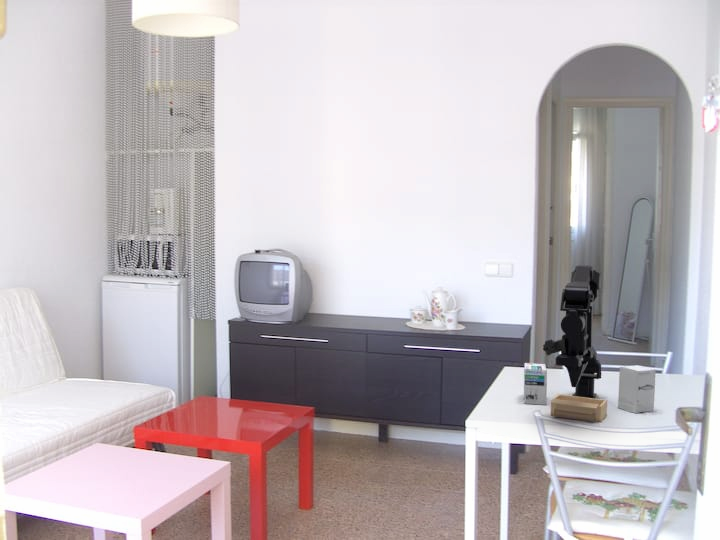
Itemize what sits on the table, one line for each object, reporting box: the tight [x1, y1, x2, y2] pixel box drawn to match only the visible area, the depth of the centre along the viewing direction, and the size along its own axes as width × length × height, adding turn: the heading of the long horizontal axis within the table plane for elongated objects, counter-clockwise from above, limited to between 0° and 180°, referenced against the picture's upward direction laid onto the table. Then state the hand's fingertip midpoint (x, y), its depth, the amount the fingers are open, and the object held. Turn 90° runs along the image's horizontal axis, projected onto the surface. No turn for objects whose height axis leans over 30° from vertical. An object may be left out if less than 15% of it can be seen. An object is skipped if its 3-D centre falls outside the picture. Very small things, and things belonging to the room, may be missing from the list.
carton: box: [549, 393, 608, 423], centre depth 218 cm, size 8×14×4 cm, turn 61°
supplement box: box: [617, 364, 657, 414], centre depth 225 cm, size 7×7×13 cm
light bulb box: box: [523, 362, 548, 406], centre depth 235 cm, size 11×7×11 cm, turn 168°
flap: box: [550, 398, 598, 423], centre depth 213 cm, size 3×13×5 cm, turn 61°
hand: (573, 386), depth 211 cm, fingers closed
